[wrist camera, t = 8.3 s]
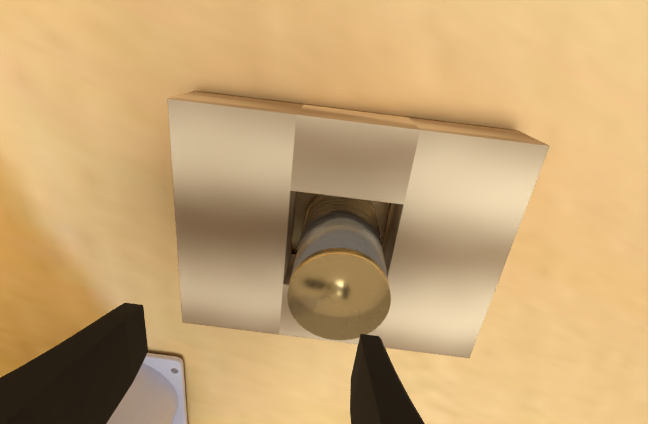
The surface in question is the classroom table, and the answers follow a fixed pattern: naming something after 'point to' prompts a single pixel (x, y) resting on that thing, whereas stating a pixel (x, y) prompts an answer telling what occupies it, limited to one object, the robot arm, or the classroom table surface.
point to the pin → (339, 270)
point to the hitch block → (352, 182)
